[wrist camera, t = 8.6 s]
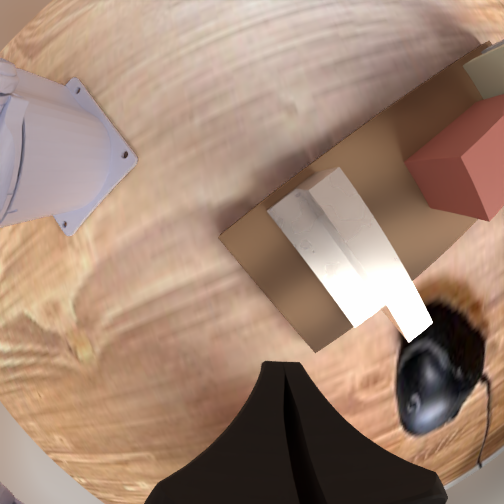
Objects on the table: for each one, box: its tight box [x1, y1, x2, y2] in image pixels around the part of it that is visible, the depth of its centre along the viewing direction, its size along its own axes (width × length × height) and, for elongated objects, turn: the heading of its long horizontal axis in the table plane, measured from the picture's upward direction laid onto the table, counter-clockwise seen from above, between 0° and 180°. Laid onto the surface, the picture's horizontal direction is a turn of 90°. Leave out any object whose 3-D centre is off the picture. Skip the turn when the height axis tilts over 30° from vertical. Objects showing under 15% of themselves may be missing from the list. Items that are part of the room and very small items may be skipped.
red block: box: [404, 94, 504, 222], centre depth 12 cm, size 4×9×6 cm, turn 129°
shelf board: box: [218, 41, 492, 353], centre depth 16 cm, size 10×28×1 cm, turn 129°
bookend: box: [267, 167, 433, 342], centre depth 14 cm, size 9×4×5 cm, turn 39°
